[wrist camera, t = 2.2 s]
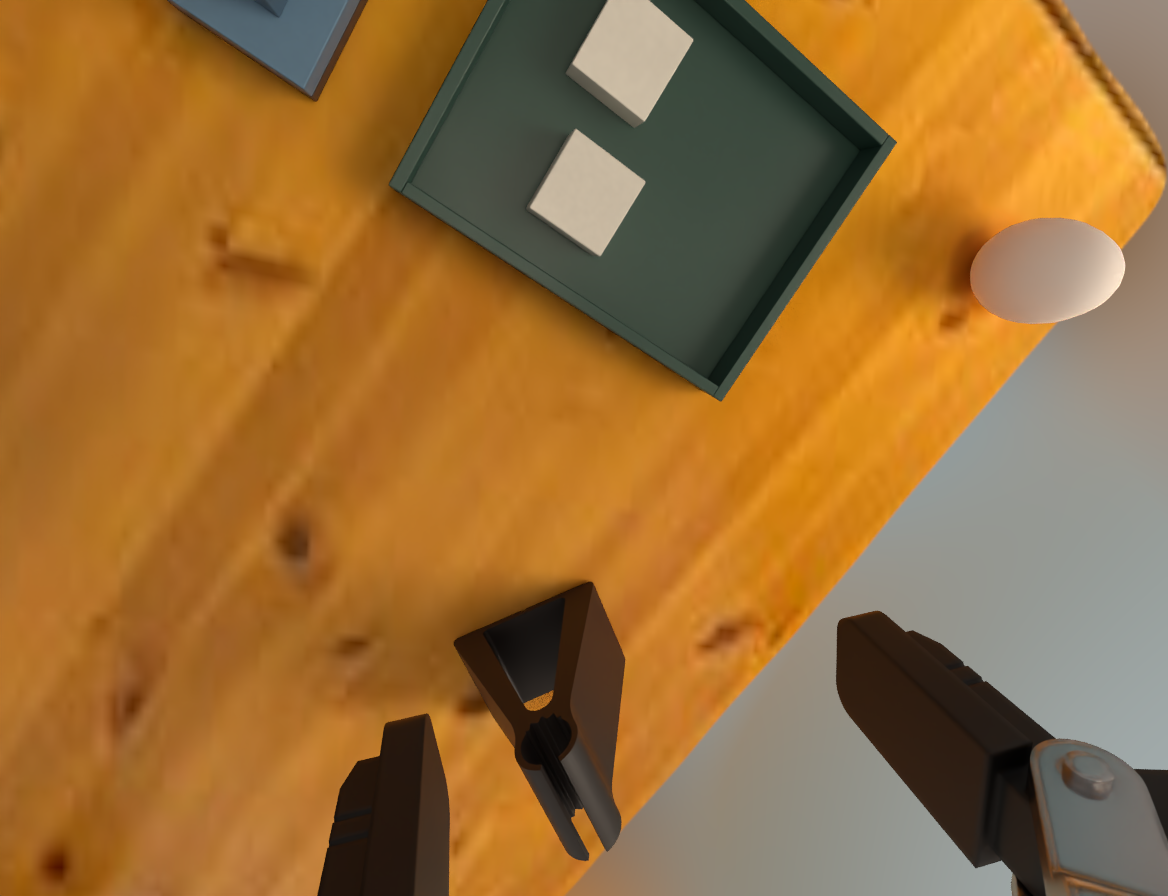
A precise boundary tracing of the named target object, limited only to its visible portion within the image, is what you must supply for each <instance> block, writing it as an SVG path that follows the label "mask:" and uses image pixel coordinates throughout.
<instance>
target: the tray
mask: <svg viewBox="0 0 1168 896" xmlns="http://www.w3.org/2000/svg"><path fill="white" fill-rule="evenodd" d="M606 1H607V0H487V2H486V4H485V6H484V8H483V10H482V12H481V13H480V15H479V17H478V19H477V21H476V23H475V25H474V27H473V28H472V30H471V32H470V34H469V36H468V38H467V40H466V41H465V43H464V45H463V47H462V49H461V51H460V53H459V54H458V56H457V58H456V60H455V62H454V64H453V66H452V67H451V69H450V71H449V73H448V75H447V77H446V79H445V80H444V82H443V84H442V86H441V88H440V90H439V92H438V93H437V95H436V97H435V99H434V101H433V103H432V105H431V106H430V108H429V110H428V112H427V114H426V116H425V118H424V119H423V121H422V123H421V125H420V127H419V129H418V131H417V132H416V134H415V136H414V138H413V140H412V142H411V144H410V145H409V147H408V149H407V151H406V153H405V155H404V157H403V158H402V160H401V162H400V164H399V166H398V168H397V170H396V171H395V173H394V175H393V177H392V179H391V181H390V183H389V186H390V187H391V188H393V189H394V190H395V191H397V192H398V193H400V194H401V195H403V196H404V197H406V198H408V199H409V200H411V201H412V202H414V203H415V204H417V205H418V206H420V207H421V208H423V209H424V210H426V211H428V212H429V213H431V214H432V215H434V216H435V217H437V218H438V219H440V220H441V221H443V222H444V223H446V224H448V225H449V226H451V227H452V228H454V229H455V230H457V231H458V232H460V233H461V234H463V235H464V236H466V237H467V238H469V239H471V240H472V241H474V242H475V243H477V244H478V245H480V246H481V247H483V248H484V249H486V250H487V251H489V252H491V253H492V254H494V255H495V256H497V257H498V258H500V259H501V260H503V261H504V262H506V263H507V264H509V265H511V266H512V267H514V268H515V269H517V270H518V271H520V272H521V273H523V274H524V275H526V276H527V277H529V278H531V279H532V280H534V281H535V282H537V283H538V284H540V285H541V286H543V287H544V288H546V289H547V290H549V291H550V292H552V293H554V294H555V295H557V296H558V297H560V298H561V299H563V300H564V301H566V302H567V303H569V304H570V305H572V306H574V307H575V308H577V309H578V310H580V311H581V312H583V313H584V314H586V315H587V316H589V317H590V318H592V319H594V320H595V321H597V322H598V323H600V324H601V325H603V326H604V327H606V328H607V329H609V330H610V331H612V332H613V333H615V334H617V335H618V336H620V337H621V338H623V339H624V340H626V341H627V342H629V343H630V344H632V345H633V346H635V347H637V348H638V349H640V350H641V351H643V352H644V353H646V354H647V355H649V356H650V357H652V358H653V359H655V360H657V361H658V362H660V363H661V364H663V365H664V366H666V367H667V368H669V369H670V370H672V371H673V372H675V373H677V374H678V375H680V376H681V377H683V378H684V379H686V380H687V381H689V382H690V383H692V384H693V385H695V386H696V387H698V388H700V389H701V390H703V391H704V392H706V393H707V394H709V395H711V396H712V397H714V398H716V399H717V400H719V401H722V400H723V398H724V397H725V395H726V394H727V392H728V391H729V389H730V388H731V387H732V385H733V384H734V382H735V381H736V379H737V378H738V376H739V375H740V373H741V372H742V370H743V369H744V367H745V366H746V364H747V363H748V361H749V360H750V358H751V357H752V356H753V354H754V353H755V351H756V350H757V348H758V347H759V345H760V344H761V342H762V341H763V339H764V338H765V336H766V335H767V333H768V332H769V330H770V329H771V328H772V326H773V325H774V323H775V322H776V320H777V319H778V317H779V316H780V314H781V313H782V311H783V310H784V308H785V307H786V305H787V304H788V302H789V301H790V299H791V298H792V297H793V295H794V294H795V292H796V291H797V289H798V288H799V286H800V285H801V283H802V282H803V280H804V279H805V277H806V276H807V274H808V273H809V271H810V270H811V269H812V267H813V266H814V264H815V263H816V261H817V260H818V258H819V257H820V255H821V254H822V252H823V251H824V249H825V248H826V246H827V245H828V243H829V242H830V241H831V239H832V238H833V236H834V235H835V233H836V232H837V230H838V229H839V227H840V226H841V224H842V223H843V221H844V220H845V218H846V217H847V215H848V214H849V212H850V211H851V210H852V208H853V207H854V205H855V204H856V202H857V201H858V199H859V198H860V196H861V195H862V193H863V192H864V190H865V189H866V187H867V186H868V184H869V183H870V182H871V180H872V179H873V177H874V176H875V174H876V173H877V171H878V170H879V168H880V167H881V165H882V164H883V162H884V161H885V159H886V158H887V156H888V155H889V153H890V152H891V151H892V149H893V148H894V146H895V145H896V143H897V142H896V141H895V140H894V139H893V138H892V137H891V136H890V135H888V134H887V133H886V132H885V131H884V130H883V129H882V128H881V127H880V126H879V125H878V124H877V123H876V122H874V121H873V120H872V119H871V118H870V117H869V116H868V115H867V114H866V113H865V112H864V111H863V110H862V109H861V108H859V107H858V106H857V105H856V104H855V103H854V102H853V101H852V100H851V99H850V98H849V97H848V96H847V95H846V94H844V93H843V92H842V91H841V90H840V89H839V88H838V87H837V86H836V85H835V84H834V83H833V82H832V81H831V80H829V79H828V78H827V77H826V76H825V75H824V74H823V73H822V72H821V71H820V70H819V69H818V68H817V67H816V66H814V65H813V64H812V63H811V62H810V61H809V60H808V59H807V58H806V57H805V56H804V55H803V54H802V53H801V52H800V51H798V50H797V49H796V48H795V47H794V46H793V45H792V44H791V43H790V42H789V41H788V40H787V39H786V38H785V37H783V36H782V35H781V34H780V33H779V32H778V31H777V30H776V29H775V28H774V27H773V26H772V25H771V24H770V23H768V22H767V21H766V20H765V19H764V18H763V17H762V16H761V15H760V14H759V13H758V12H757V11H756V10H755V9H753V8H752V7H751V6H750V5H749V4H748V3H747V2H746V1H745V0H649V1H650V2H651V3H653V4H654V5H655V6H656V7H657V8H658V9H659V10H660V11H662V12H663V13H664V14H665V15H666V16H667V17H668V18H670V19H671V20H672V21H673V22H674V23H675V24H676V25H678V26H679V27H680V28H681V29H682V30H683V31H684V32H686V33H687V34H688V35H689V36H690V37H691V38H692V39H693V42H692V44H691V46H690V47H689V49H688V51H687V52H686V54H685V56H684V57H683V59H682V61H681V62H680V64H679V66H678V67H677V69H676V70H675V72H674V74H673V75H672V77H671V79H670V80H669V82H668V84H667V85H666V87H665V89H664V90H663V92H662V94H661V95H660V97H659V99H658V100H657V102H656V104H655V105H654V107H653V109H652V110H651V112H650V114H649V115H648V117H647V119H646V120H645V121H644V122H643V123H641V124H640V125H638V126H637V127H635V128H633V127H632V126H631V125H630V124H628V123H627V122H626V121H624V120H623V119H622V118H621V117H619V116H618V115H617V114H616V113H614V112H613V111H612V110H611V109H609V108H608V107H607V106H605V105H604V104H603V103H602V102H600V101H599V100H598V99H597V98H595V97H594V96H593V95H591V94H590V93H589V92H588V91H586V90H585V89H584V88H583V87H581V86H580V85H579V84H578V83H576V82H575V81H574V80H572V79H571V78H570V77H569V76H567V75H566V71H567V69H568V68H569V66H570V64H571V62H572V61H573V59H574V57H575V55H576V54H577V52H578V50H579V48H580V47H581V45H582V43H583V41H584V40H585V38H586V36H587V34H588V33H589V31H590V29H591V27H592V26H593V24H594V22H595V20H596V19H597V17H598V15H599V13H600V12H601V10H602V8H603V6H604V5H605V3H606ZM574 129H577V130H579V131H580V132H581V133H583V134H584V135H585V136H586V137H588V138H589V139H590V140H592V141H593V142H594V143H596V144H597V145H598V146H600V147H601V148H602V149H604V150H605V151H606V152H608V153H609V154H610V155H611V156H613V157H614V158H615V159H617V160H618V161H619V162H621V163H622V164H623V165H625V166H626V167H627V168H629V169H630V170H631V171H633V172H634V173H635V174H636V175H638V176H639V177H640V178H642V179H643V180H644V181H645V185H644V186H643V188H642V189H641V191H640V193H639V194H638V196H637V198H636V199H635V201H634V202H633V204H632V206H631V207H630V209H629V211H628V212H627V214H626V216H625V217H624V219H623V220H622V222H621V224H620V225H619V227H618V229H617V230H616V232H615V233H614V235H613V237H612V238H611V240H610V242H609V243H608V245H607V247H606V248H605V250H604V251H603V253H602V255H601V256H592V255H591V254H589V253H588V252H586V251H585V250H583V249H582V248H580V247H579V246H577V245H576V244H575V243H573V242H572V241H570V240H569V239H567V238H566V237H564V236H563V235H561V234H560V233H559V232H557V231H556V230H554V229H553V228H551V227H550V226H548V225H547V224H546V223H544V222H543V221H541V220H540V219H538V218H537V217H535V216H534V215H532V214H531V213H530V212H528V211H527V210H526V207H527V205H528V204H529V202H530V200H531V199H532V197H533V195H534V193H535V192H536V190H537V188H538V187H539V185H540V183H541V181H542V180H543V178H544V176H545V175H546V173H547V171H548V169H549V168H550V166H551V164H552V162H553V161H554V159H555V157H556V156H557V154H558V152H559V150H560V149H561V147H562V145H563V144H564V142H565V140H566V138H567V137H568V135H569V134H570V133H571V132H572V131H573V130H574Z"/></svg>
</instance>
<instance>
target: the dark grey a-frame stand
mask: <svg viewBox="0 0 1168 896" xmlns="http://www.w3.org/2000/svg"><path fill="white" fill-rule="evenodd" d="M454 646H455V648H456V650H457V652H458V654H459V656H460V657H461V659H462V661H463V663H464V665H465V666H466V668H467V670H468V672H469V674H470V676H471V677H472V679H473V681H474V683H475V685H476V686H477V688H478V690H479V692H480V694H481V696H482V697H483V699H484V701H485V703H486V705H487V707H488V708H489V710H490V712H491V714H492V716H493V717H494V719H495V720H496V722H497V723H498V725H499V726H500V728H501V729H502V731H503V732H504V733H505V735H506V736H507V738H508V739H509V741H510V742H511V744H512V745H513V746H514V748H515V758H516V760H517V762H518V764H519V766H520V768H521V770H522V771H523V773H524V775H525V777H526V779H527V781H528V782H529V784H530V786H531V788H532V790H533V791H534V793H535V795H536V797H537V799H538V801H539V802H540V804H541V806H542V808H543V810H544V812H545V813H546V815H547V817H548V819H549V821H550V822H551V824H552V826H553V828H554V830H555V832H556V833H557V835H558V837H559V839H560V841H561V842H562V844H563V846H564V848H565V850H566V851H567V853H568V854H569V855H570V856H572V857H573V858H575V859H578V860H583V861H588V860H589V853H588V851H587V849H586V847H585V845H584V844H583V842H582V840H581V838H580V836H579V834H578V832H577V830H576V829H575V827H574V825H573V823H572V821H571V817H574V816H575V809H582V808H583V807H584V809H585V811H586V813H587V815H588V817H589V819H590V821H591V823H592V825H593V827H594V829H595V831H596V833H597V834H598V836H599V838H600V840H601V842H602V844H603V846H604V848H605V849H606V851H609V850H610V849H611V848H612V846H613V845H614V844H615V842H616V840H617V839H618V836H619V834H620V830H621V816H620V813H619V811H618V808H617V806H616V804H615V802H614V799H613V794H612V777H613V768H614V759H615V750H616V740H617V731H618V722H619V713H620V704H621V694H622V685H623V676H624V667H625V657H624V654H623V652H622V650H621V647H620V645H619V643H618V640H617V638H616V636H615V633H614V631H613V629H612V626H611V624H610V622H609V619H608V617H607V615H606V612H605V610H604V608H603V605H602V603H601V600H600V598H599V596H598V593H597V591H596V589H595V586H594V584H593V583H592V582H587V583H585V584H582V585H580V586H578V587H575V588H573V589H571V590H568V591H566V592H564V593H562V594H559V595H557V596H555V597H552V598H550V599H548V600H545V601H543V602H541V603H538V604H536V605H534V606H532V607H529V608H527V609H526V610H525V611H524V612H518V613H515V614H513V615H511V616H508V617H506V618H504V619H501V620H499V621H497V622H495V623H492V624H490V625H488V626H485V627H483V628H481V629H478V630H476V631H474V632H471V633H469V634H467V635H465V636H462V637H460V638H458V639H456V640H455V642H454ZM552 690H554V692H553V697H552V700H551V701H550V703H549V704H548V705H547V706H545V707H544V708H542V709H540V710H537V711H529V710H527V709H526V708H525V706H524V704H523V703H525V702H527V701H529V700H532V699H534V698H536V697H539V696H541V695H543V694H545V693H548V692H550V691H552Z"/></svg>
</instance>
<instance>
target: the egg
mask: <svg viewBox="0 0 1168 896" xmlns="http://www.w3.org/2000/svg"><path fill="white" fill-rule="evenodd" d="M1124 272H1125V261H1124V257H1123V254H1122V252H1121V249H1120V247H1119V246H1118V245H1117V244H1116V243H1115V242H1114V241H1113V240H1112V239H1111V238H1110V237H1109V236H1107V235H1106V234H1105V233H1104V232H1102V231H1100V230H1098V229H1096V228H1094V227H1092V226H1090V225H1088V224H1086V223H1084V222H1080V221H1077V220H1071V219H1064V218H1039V219H1032V220H1028V221H1024V222H1021V223H1018V224H1015V225H1012V226H1010V227H1008V228H1006V229H1004V230H1002V231H1001V232H999V233H998V234H996V235H995V236H993V237H992V238H991V239H990V240H989V241H987V242H986V243H985V244H984V245H983V246H982V248H981V249H980V250H979V251H978V253H977V255H976V257H975V259H974V261H973V263H972V267H971V270H970V283H971V288H972V291H973V293H974V295H975V297H976V298H977V300H978V301H979V303H980V304H981V305H982V306H983V307H985V308H986V309H987V310H988V311H989V312H991V313H993V314H995V315H996V316H998V317H1000V318H1003V319H1006V320H1009V321H1013V322H1018V323H1028V324H1038V323H1054V322H1058V321H1062V320H1067V319H1070V318H1072V317H1075V316H1078V315H1081V314H1084V313H1086V312H1088V311H1090V310H1092V309H1094V308H1096V307H1098V306H1099V305H1101V304H1103V303H1104V302H1105V301H1106V300H1107V299H1108V298H1109V297H1110V296H1111V295H1112V294H1113V293H1114V292H1115V290H1116V289H1117V288H1118V287H1119V286H1120V284H1121V281H1122V278H1123V276H1124Z"/></svg>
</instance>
